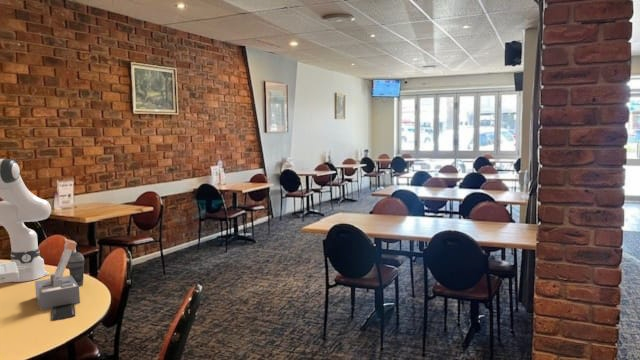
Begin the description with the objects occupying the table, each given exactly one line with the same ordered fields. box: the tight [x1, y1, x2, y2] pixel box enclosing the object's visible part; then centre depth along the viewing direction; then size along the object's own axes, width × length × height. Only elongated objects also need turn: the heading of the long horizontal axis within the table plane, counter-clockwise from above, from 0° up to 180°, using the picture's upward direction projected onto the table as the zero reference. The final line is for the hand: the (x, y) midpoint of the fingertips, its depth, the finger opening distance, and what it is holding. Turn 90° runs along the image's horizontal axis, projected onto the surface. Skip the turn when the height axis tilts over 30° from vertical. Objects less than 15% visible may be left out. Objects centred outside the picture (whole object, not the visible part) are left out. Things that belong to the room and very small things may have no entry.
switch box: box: [34, 273, 81, 311], centre depth 198 cm, size 20×14×10 cm
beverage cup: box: [67, 250, 85, 287], centre depth 217 cm, size 7×7×20 cm
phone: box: [51, 303, 76, 321], centre depth 183 cm, size 8×1×15 cm
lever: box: [52, 238, 78, 280], centre depth 199 cm, size 8×3×18 cm, turn 35°
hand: (31, 268), depth 192 cm, fingers closed
